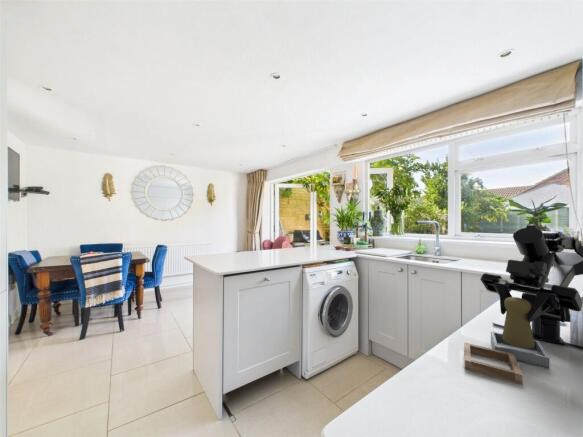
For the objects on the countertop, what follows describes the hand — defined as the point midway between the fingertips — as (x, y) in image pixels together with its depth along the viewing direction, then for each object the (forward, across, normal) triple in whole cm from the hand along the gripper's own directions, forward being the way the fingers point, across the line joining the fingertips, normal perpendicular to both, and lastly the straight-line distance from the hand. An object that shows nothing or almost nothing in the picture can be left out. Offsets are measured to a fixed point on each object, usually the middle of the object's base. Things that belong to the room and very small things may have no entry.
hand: (514, 317), depth 62 cm
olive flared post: (+4, 0, +6) cm, 7 cm away
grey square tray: (+6, 0, +7) cm, 9 cm away
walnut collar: (+14, 0, -1) cm, 14 cm away
